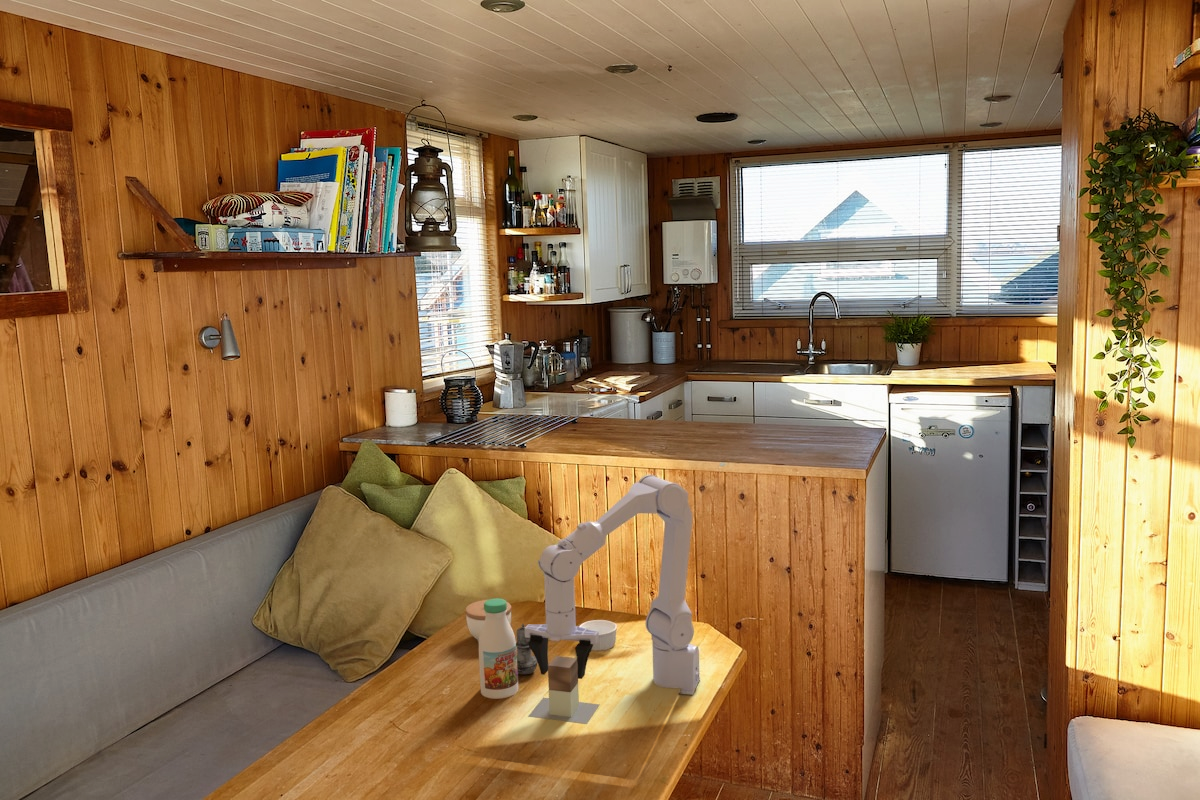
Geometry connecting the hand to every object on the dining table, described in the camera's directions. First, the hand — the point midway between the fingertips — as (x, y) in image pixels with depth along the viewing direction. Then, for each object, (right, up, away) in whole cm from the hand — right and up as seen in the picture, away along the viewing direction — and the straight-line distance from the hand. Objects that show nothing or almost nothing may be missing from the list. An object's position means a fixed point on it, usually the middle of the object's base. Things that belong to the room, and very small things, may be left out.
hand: (562, 674), depth 183 cm
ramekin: (+7, -3, +34) cm, 35 cm away
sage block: (0, -7, +1) cm, 7 cm away
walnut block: (0, -2, 0) cm, 2 cm away
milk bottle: (-13, -8, +11) cm, 19 cm away
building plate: (0, -8, +1) cm, 8 cm away
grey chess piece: (-9, -6, +19) cm, 22 cm away
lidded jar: (-19, -3, +40) cm, 44 cm away
